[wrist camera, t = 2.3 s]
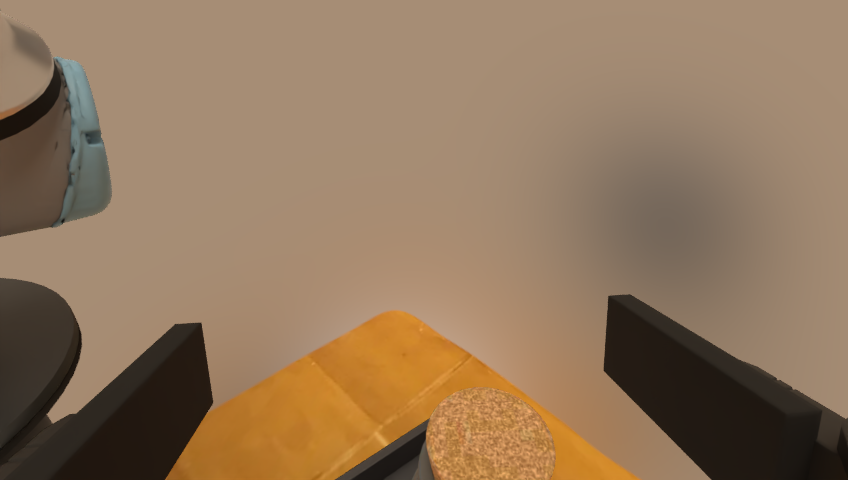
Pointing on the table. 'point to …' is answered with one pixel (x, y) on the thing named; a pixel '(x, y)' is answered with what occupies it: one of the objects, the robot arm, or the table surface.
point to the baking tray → (392, 459)
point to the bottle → (486, 439)
